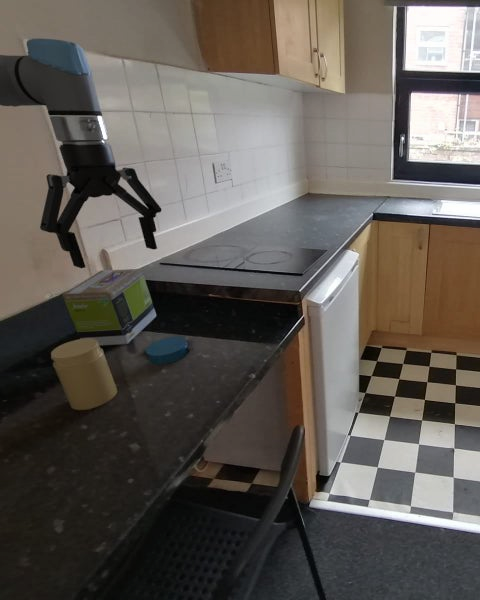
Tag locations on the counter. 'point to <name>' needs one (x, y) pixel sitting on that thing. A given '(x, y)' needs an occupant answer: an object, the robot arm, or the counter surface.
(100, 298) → the tea box
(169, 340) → the jar lid
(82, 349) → the jam jar
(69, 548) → the counter surface
